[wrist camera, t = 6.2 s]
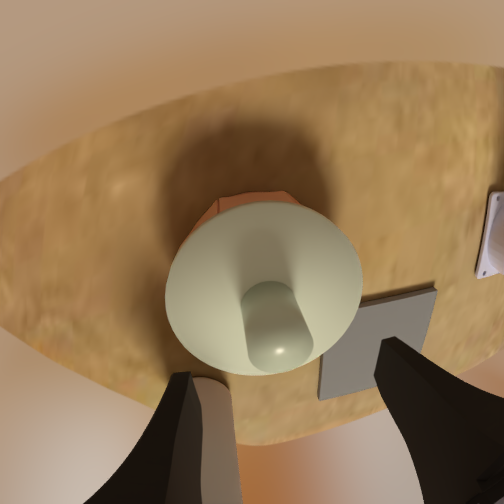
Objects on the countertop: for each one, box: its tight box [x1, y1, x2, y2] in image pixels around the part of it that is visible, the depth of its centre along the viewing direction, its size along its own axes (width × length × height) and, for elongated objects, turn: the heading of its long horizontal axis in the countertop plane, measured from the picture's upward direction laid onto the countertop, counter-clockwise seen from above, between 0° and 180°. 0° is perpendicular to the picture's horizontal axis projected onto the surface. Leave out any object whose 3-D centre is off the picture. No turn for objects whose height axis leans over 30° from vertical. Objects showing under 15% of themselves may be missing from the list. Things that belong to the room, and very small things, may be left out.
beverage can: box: [192, 377, 243, 504], centre depth 19 cm, size 5×5×12 cm
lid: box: [165, 200, 363, 376], centre depth 15 cm, size 10×10×4 cm
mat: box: [318, 287, 438, 401], centre depth 24 cm, size 10×10×1 cm
